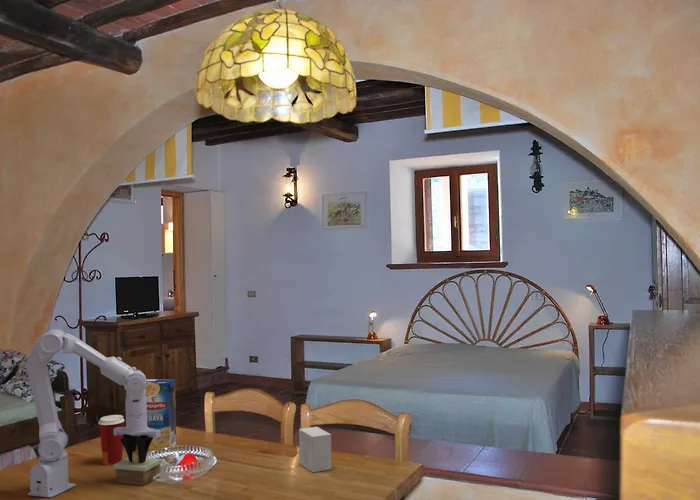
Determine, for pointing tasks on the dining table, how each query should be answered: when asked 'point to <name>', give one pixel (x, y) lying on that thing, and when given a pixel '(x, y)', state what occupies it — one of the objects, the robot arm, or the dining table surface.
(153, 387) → the beverage box
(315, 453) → the skincare box
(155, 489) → the dining table surface
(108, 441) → the paper cup
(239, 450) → the dining table surface
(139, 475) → the box
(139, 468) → the lid
